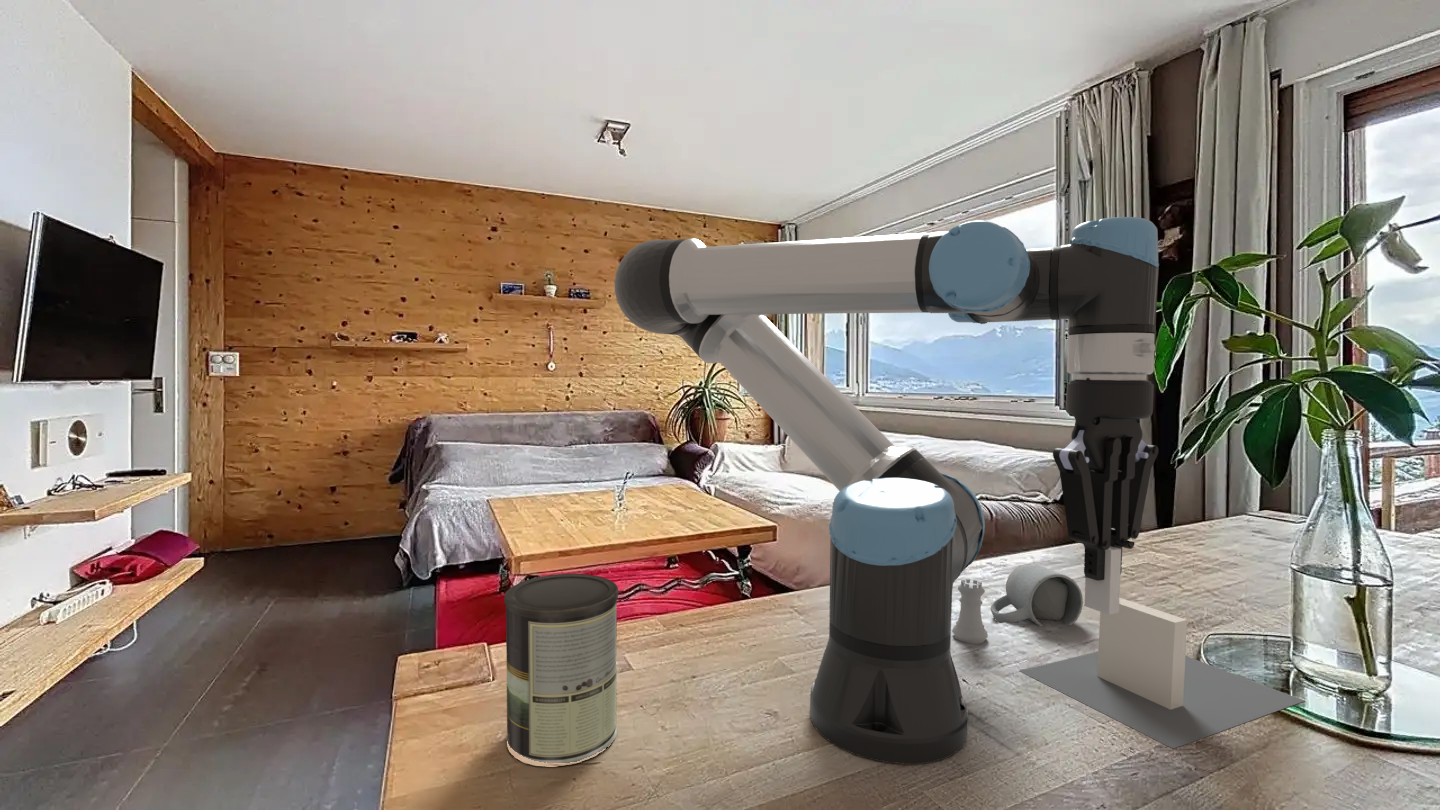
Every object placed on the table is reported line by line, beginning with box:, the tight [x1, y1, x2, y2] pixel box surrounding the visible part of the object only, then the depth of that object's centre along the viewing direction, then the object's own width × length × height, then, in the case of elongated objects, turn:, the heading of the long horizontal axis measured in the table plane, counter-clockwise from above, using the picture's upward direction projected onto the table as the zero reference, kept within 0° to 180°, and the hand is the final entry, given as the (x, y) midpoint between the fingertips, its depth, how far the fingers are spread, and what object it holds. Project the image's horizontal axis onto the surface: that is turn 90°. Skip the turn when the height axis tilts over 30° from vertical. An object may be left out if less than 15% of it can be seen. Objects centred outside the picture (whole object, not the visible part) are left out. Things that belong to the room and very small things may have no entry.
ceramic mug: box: [990, 564, 1084, 627], centre depth 94 cm, size 11×8×8 cm
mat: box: [1019, 650, 1305, 750], centre depth 73 cm, size 22×17×1 cm
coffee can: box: [504, 573, 619, 763], centre depth 63 cm, size 10×10×14 cm
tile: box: [1097, 597, 1188, 710], centre depth 72 cm, size 2×8×9 cm, turn 25°
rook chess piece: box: [951, 578, 989, 645], centre depth 86 cm, size 4×4×8 cm
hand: (1101, 609), depth 68 cm, fingers closed
